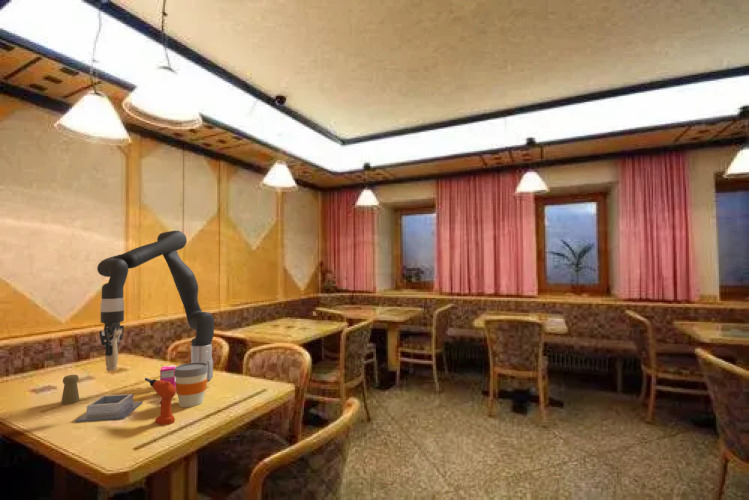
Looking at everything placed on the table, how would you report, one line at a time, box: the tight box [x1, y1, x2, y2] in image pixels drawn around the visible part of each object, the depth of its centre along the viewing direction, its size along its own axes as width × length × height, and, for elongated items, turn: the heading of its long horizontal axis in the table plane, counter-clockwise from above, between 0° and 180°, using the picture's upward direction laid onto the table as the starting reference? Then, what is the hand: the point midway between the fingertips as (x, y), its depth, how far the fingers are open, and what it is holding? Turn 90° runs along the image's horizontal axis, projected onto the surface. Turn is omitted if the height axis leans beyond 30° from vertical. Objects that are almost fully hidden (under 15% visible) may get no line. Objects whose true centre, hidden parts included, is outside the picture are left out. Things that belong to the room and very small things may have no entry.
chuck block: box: [74, 393, 144, 423], centre depth 145 cm, size 16×16×5 cm
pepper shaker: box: [60, 374, 80, 406], centre depth 157 cm, size 6×6×11 cm
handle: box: [104, 330, 122, 372], centre depth 146 cm, size 5×6×15 cm
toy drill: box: [144, 377, 177, 426], centre depth 138 cm, size 5×19×15 cm, turn 59°
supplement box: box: [159, 364, 177, 388], centre depth 167 cm, size 6×6×12 cm
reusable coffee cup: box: [174, 362, 208, 408], centre depth 154 cm, size 13×13×15 cm
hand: (111, 353), depth 146 cm, fingers closed on handle, 4 cm apart
